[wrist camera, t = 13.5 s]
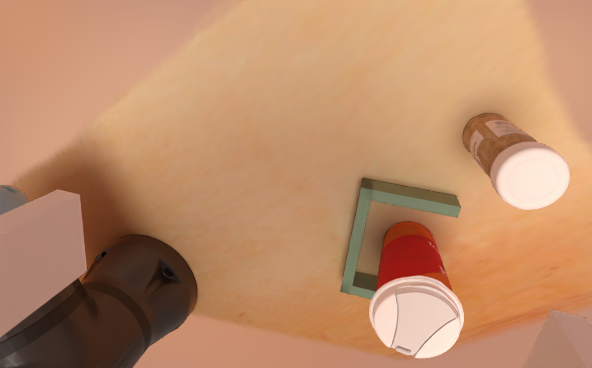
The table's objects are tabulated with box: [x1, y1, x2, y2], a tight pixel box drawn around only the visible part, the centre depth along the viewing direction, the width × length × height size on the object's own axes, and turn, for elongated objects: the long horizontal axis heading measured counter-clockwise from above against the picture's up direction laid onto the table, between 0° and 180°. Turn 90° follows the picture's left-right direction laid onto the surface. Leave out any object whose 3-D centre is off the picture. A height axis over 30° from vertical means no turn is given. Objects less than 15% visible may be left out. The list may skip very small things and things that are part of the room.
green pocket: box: [340, 178, 461, 299], centre depth 43 cm, size 10×13×3 cm
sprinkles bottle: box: [463, 113, 570, 210], centre depth 32 cm, size 5×5×14 cm
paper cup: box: [369, 222, 464, 358], centre depth 37 cm, size 8×8×14 cm
